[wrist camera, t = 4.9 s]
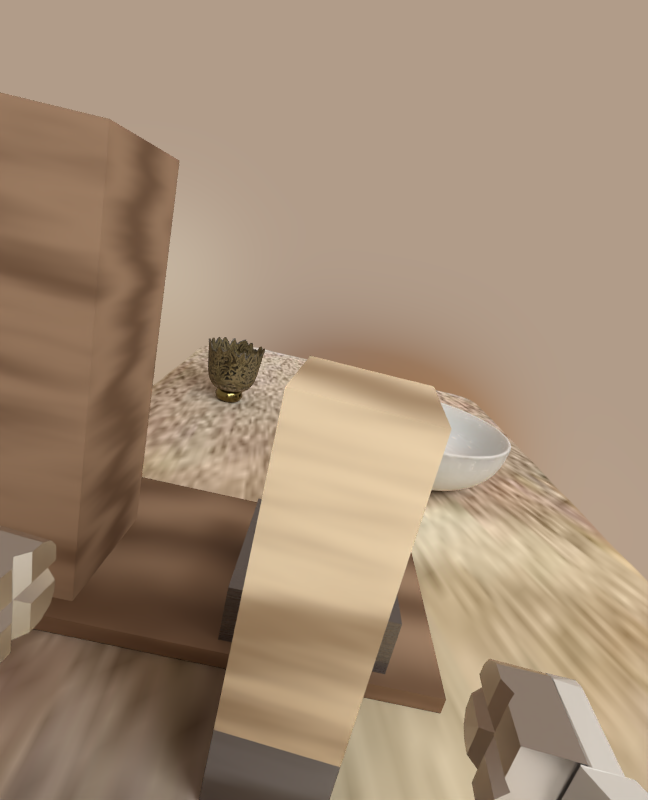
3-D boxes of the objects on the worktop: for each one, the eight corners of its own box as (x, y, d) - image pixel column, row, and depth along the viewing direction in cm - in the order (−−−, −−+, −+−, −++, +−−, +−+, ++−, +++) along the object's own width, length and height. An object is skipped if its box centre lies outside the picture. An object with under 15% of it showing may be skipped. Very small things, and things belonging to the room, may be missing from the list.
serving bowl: (487, 464, 64) (504, 418, 62) (496, 543, 44) (520, 479, 42) (344, 419, 68) (355, 374, 66) (294, 472, 49) (308, 411, 47)
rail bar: (317, 836, 19) (451, 428, 14) (198, 800, 19) (285, 386, 14) (330, 721, 24) (433, 386, 18) (235, 693, 24) (310, 355, 19)
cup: (265, 406, 66) (276, 352, 63) (221, 411, 60) (231, 352, 58) (233, 388, 70) (242, 336, 68) (190, 391, 65) (198, 335, 62)
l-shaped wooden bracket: (440, 713, 25) (630, 239, 18) (-37, 614, 25) (-41, 76, 17) (404, 545, 40) (500, 247, 33) (105, 479, 39) (136, 160, 32)
